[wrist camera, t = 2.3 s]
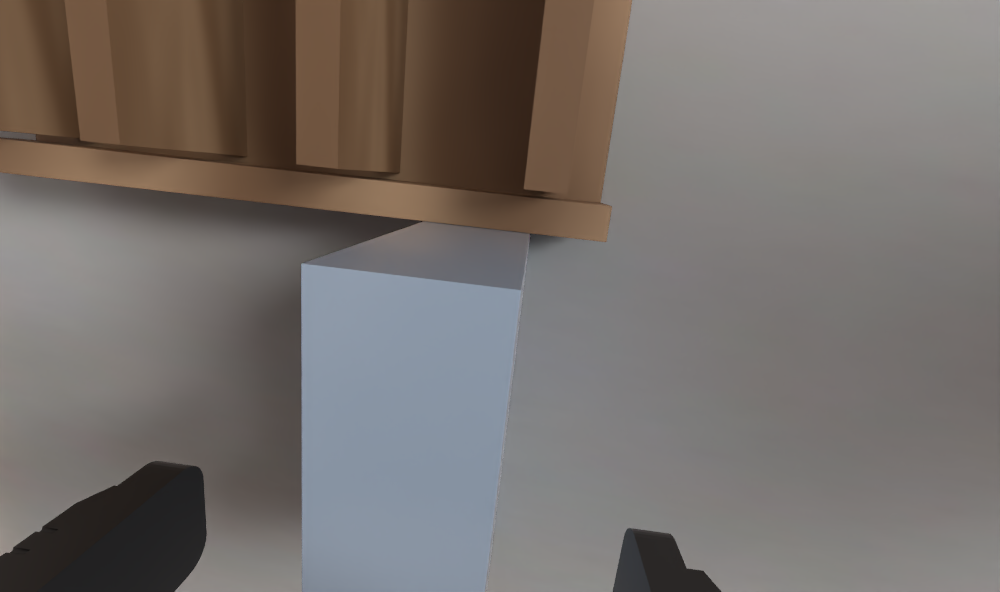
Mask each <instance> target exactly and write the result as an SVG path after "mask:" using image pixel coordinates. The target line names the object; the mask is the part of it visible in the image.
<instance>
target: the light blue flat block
mask: <svg viewBox="0 0 1000 592" xmlns="http://www.w3.org/2000/svg"><path fill="white" fill-rule="evenodd" d="M529 242H530V233H523V232H515V231H506V230H497V229H488V228H480V227H471V226H462V225H454V224H445V223H436V222H428V221H423V222H420V223H417V224H415V225H412V226H409V227H406V228H403V229H400V230H397V231H394V232H391V233H388V234H385V235H383V236H380V237H377V238H374V239H371V240H368V241H365V242H362V243H359V244H356V245H354V246H351V247H348V248H345V249H342V250H339V251H336V252H333V253H330V254H327V255H325V256H322V257H319V258H316V259H313V260H310V261H307V262H304V263H301V352H302V592H487V585H488V577H489V569H490V561H491V553H492V545H493V537H494V529H495V521H496V513H497V505H498V496H499V488H500V480H501V472H502V463H503V455H504V447H505V439H506V431H507V422H508V414H509V406H510V398H511V389H512V381H513V373H514V365H515V357H516V348H517V340H518V332H519V324H520V316H521V307H522V299H523V291H524V283H525V274H526V266H527V258H528V250H529Z"/></svg>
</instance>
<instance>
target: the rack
mask: <svg viewBox="0 0 1000 592" xmlns="http://www.w3.org/2000/svg"><path fill="white" fill-rule="evenodd" d="M631 4H632V0H0V131H11V132H21V133H32V134H36V140H26V139H14V138H2V137H0V172H2V173H10V174H19V175H28V176H36V177H45V178H54V179H62V180H71V181H80V182H89V183H97V184H106V185H115V186H123V187H132V188H141V189H149V190H158V191H167V192H175V193H184V194H193V195H202V196H210V197H219V198H228V199H236V200H245V201H254V202H262V203H271V204H280V205H289V206H297V207H306V208H315V209H323V210H332V211H341V212H349V213H358V214H367V215H375V216H384V217H393V218H402V219H410V220H419V221H428V222H436V223H445V224H454V225H462V226H471V227H480V228H488V229H497V230H506V231H515V232H523V233H532V234H541V235H549V236H558V237H567V238H575V239H584V240H593V241H601V242H606V240H607V234H608V228H609V222H610V216H611V210H612V206H609V205H606V204H603V203H600V202H601V196H602V189H603V183H604V176H605V170H606V164H607V157H608V151H609V145H610V138H611V132H612V125H613V119H614V113H615V106H616V100H617V94H618V87H619V81H620V74H621V68H622V62H623V55H624V49H625V43H626V36H627V30H628V23H629V17H630V11H631Z"/></svg>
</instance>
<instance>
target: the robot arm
mask: <svg viewBox="0 0 1000 592" xmlns="http://www.w3.org/2000/svg"><path fill="white" fill-rule="evenodd" d="M205 542H206V516H205V498H204V481H203V474H202V471H201V469H200V468H198V467H196V466H190V465H183V464H176V463H168V462H161V461H154V462H151V463H149V464H147V465H146V466H144V467H143V468H141V469H140V470H139V471H137V472H136V473H134V474H133V475H132V476H130V477H129V478H128V479H126V480H125V481H124V482H122V483H121V484H119V485H118V486H112V487H110V488H108V489H106V490H104V491H102V492H99V493H97V494H95V495H93V496H91V497H89V498H86V499H84V500H82V501H80V502H78V503H76V504H74V505H73V506H71V507H70V508H69V509H67V510H66V511H64V512H63V513H61V514H60V515H59V516H57V517H56V518H54V519H53V520H52V521H50V522H49V523H47V524H46V525H44V526H43V527H42V530H41V531H40V532H35V533H33V534H32V535H30V536H29V537H27V538H26V539H25V540H23V541H22V542H20V543H19V544H17V545H16V546H15V547H14V548H13V551H12V552H11V553H5V554H3V555H2V556H0V592H174V591H175V590H176V589H177V588H178V587H179V586H180V585H181V583H182V582H183V581H184V580H185V579H186V578H187V577H188V575H189V574H190V573H191V572H192V570H193V569H194V568H195V566H196V564H197V563H198V561H199V559H200V557H201V555H202V552H203V549H204V546H205ZM613 592H721V591H720V590H719V589H718V587H717V586H716V585H715V584H714V583H713V582H712V581H711V579H710V578H709V577H708V576H707V575H706V574H705V573H704V571H700V570H693V569H686V566H685V564H684V561H683V559H682V556H681V554H680V551H679V549H678V546H677V544H676V541H675V539H674V538H673V536H672V535H671V534H668V533H661V532H653V531H646V530H639V529H632V528H628V529H627V531H626V533H625V536H624V540H623V545H622V549H621V554H620V559H619V564H618V569H617V573H616V578H615V583H614V588H613Z"/></svg>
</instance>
